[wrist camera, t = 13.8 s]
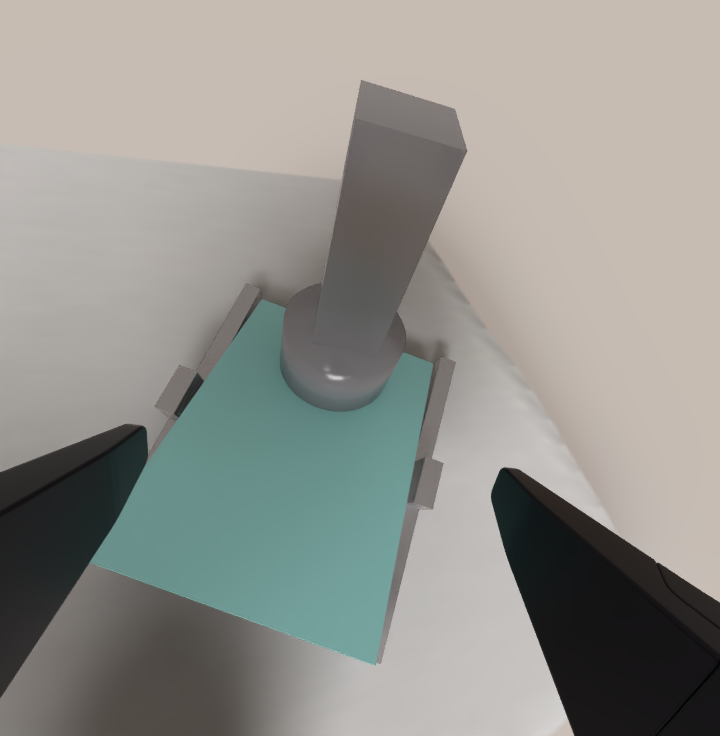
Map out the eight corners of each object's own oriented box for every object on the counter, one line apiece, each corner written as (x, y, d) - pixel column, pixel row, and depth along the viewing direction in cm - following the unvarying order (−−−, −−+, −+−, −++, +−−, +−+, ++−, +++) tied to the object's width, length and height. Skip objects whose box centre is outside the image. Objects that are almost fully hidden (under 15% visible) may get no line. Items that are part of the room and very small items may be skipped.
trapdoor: (363, 662, 16) (375, 665, 14) (97, 566, 15) (79, 558, 14) (422, 379, 26) (433, 363, 24) (261, 319, 25) (262, 298, 24)
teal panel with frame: (373, 651, 19) (391, 684, 15) (107, 554, 19) (59, 564, 15) (445, 371, 26) (470, 347, 22) (249, 298, 26) (241, 261, 22)
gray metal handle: (387, 420, 21) (528, 191, 10) (269, 401, 20) (288, 124, 9) (387, 334, 25) (489, 105, 14) (290, 314, 24) (320, 52, 13)
